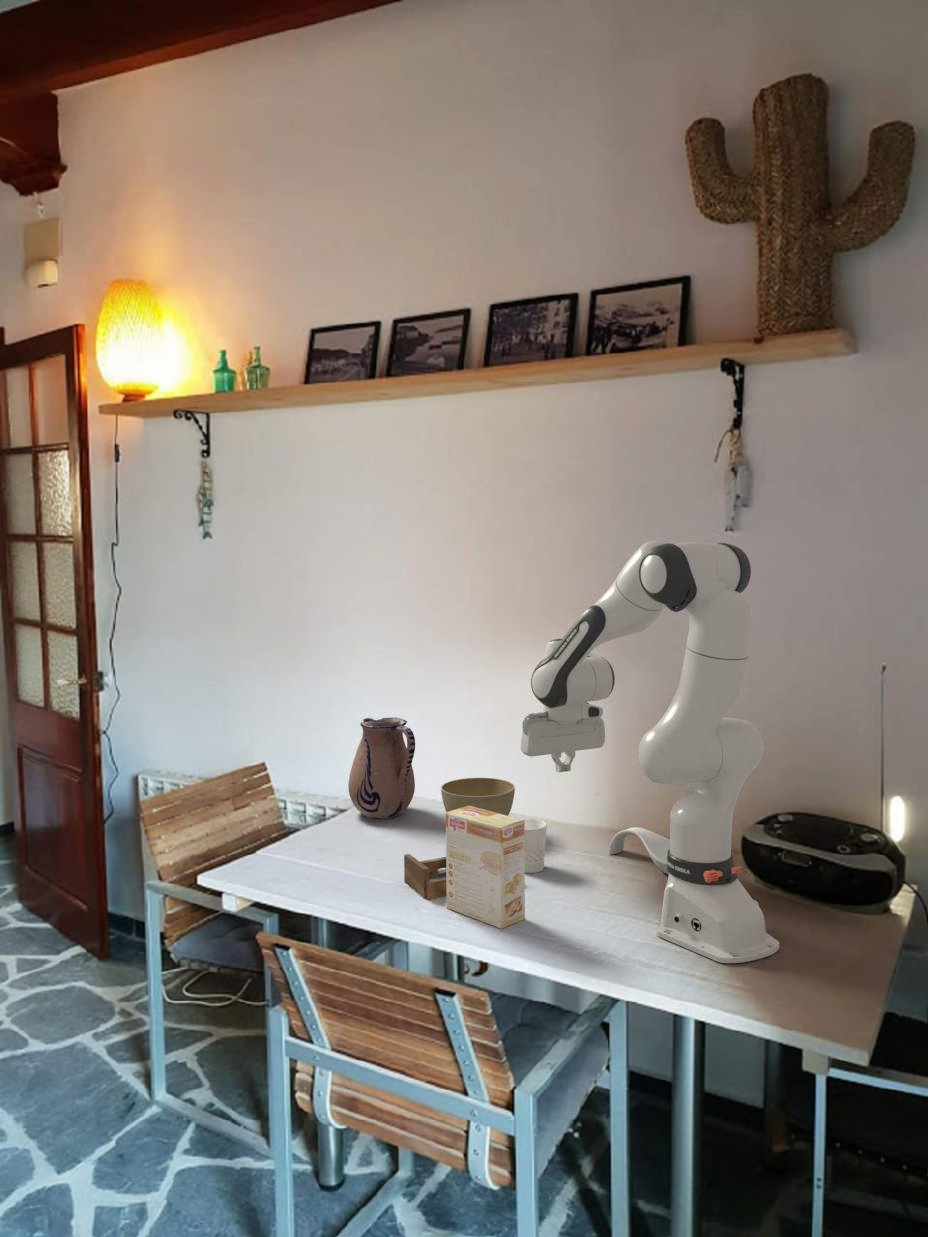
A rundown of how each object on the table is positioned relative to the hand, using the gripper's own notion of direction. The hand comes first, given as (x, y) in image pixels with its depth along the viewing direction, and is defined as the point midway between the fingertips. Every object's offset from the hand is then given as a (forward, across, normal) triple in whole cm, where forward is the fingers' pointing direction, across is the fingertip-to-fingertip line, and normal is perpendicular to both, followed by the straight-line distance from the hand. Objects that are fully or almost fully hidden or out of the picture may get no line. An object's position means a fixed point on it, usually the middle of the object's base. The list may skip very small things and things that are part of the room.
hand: (563, 771), depth 211 cm
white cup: (+21, -9, 0) cm, 23 cm away
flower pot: (+21, -8, +26) cm, 34 cm away
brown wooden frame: (+21, -26, 0) cm, 33 cm away
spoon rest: (+21, +17, -12) cm, 29 cm away
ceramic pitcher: (+21, -22, +52) cm, 60 cm away
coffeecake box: (+21, -29, -18) cm, 40 cm away
